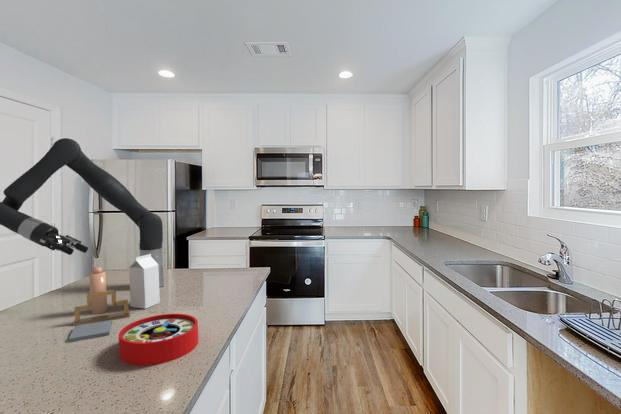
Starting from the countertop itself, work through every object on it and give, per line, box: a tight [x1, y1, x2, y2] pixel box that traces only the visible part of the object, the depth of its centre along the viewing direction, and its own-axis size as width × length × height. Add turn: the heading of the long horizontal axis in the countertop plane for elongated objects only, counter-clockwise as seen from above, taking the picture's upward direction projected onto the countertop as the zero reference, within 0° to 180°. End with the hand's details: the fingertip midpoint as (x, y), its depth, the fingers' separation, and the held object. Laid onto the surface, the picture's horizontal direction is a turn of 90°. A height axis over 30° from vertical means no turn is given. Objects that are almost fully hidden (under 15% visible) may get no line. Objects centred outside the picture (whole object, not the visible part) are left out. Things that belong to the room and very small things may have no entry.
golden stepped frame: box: [72, 289, 131, 327], centre depth 113 cm, size 16×3×10 cm, turn 117°
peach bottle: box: [88, 266, 108, 315], centre depth 121 cm, size 5×5×16 cm
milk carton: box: [128, 254, 161, 310], centre depth 126 cm, size 7×7×19 cm
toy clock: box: [118, 313, 199, 367], centre depth 93 cm, size 20×6×20 cm
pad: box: [68, 320, 113, 343], centre depth 103 cm, size 10×10×1 cm
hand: (79, 251), depth 121 cm, fingers open, 8 cm apart
